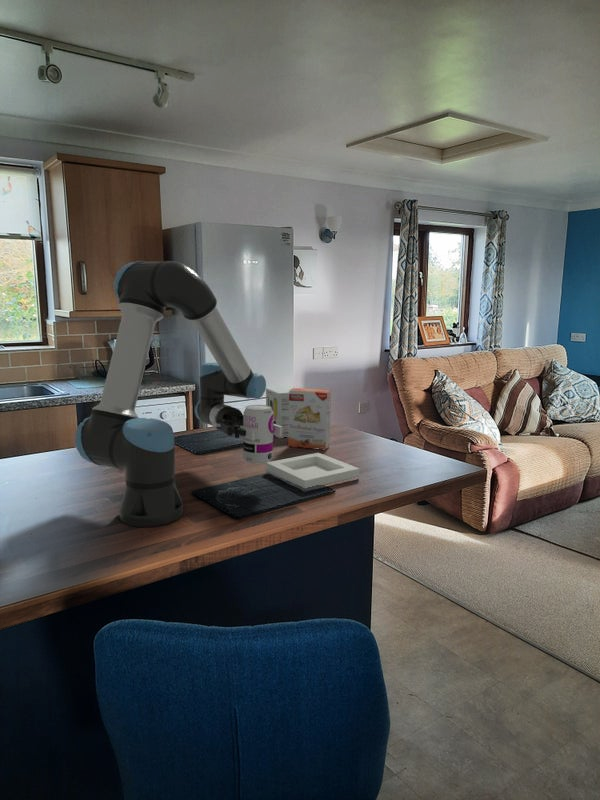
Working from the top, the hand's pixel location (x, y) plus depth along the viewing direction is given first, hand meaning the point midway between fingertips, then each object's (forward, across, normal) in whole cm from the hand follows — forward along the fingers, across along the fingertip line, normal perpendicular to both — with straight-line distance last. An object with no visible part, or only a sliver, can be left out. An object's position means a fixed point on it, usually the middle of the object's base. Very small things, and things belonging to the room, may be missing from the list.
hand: (267, 433), depth 153 cm
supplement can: (-5, 0, -9) cm, 10 cm away
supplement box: (-53, -43, -16) cm, 70 cm away
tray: (-5, -19, -17) cm, 26 cm away
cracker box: (-32, -38, -16) cm, 52 cm away
